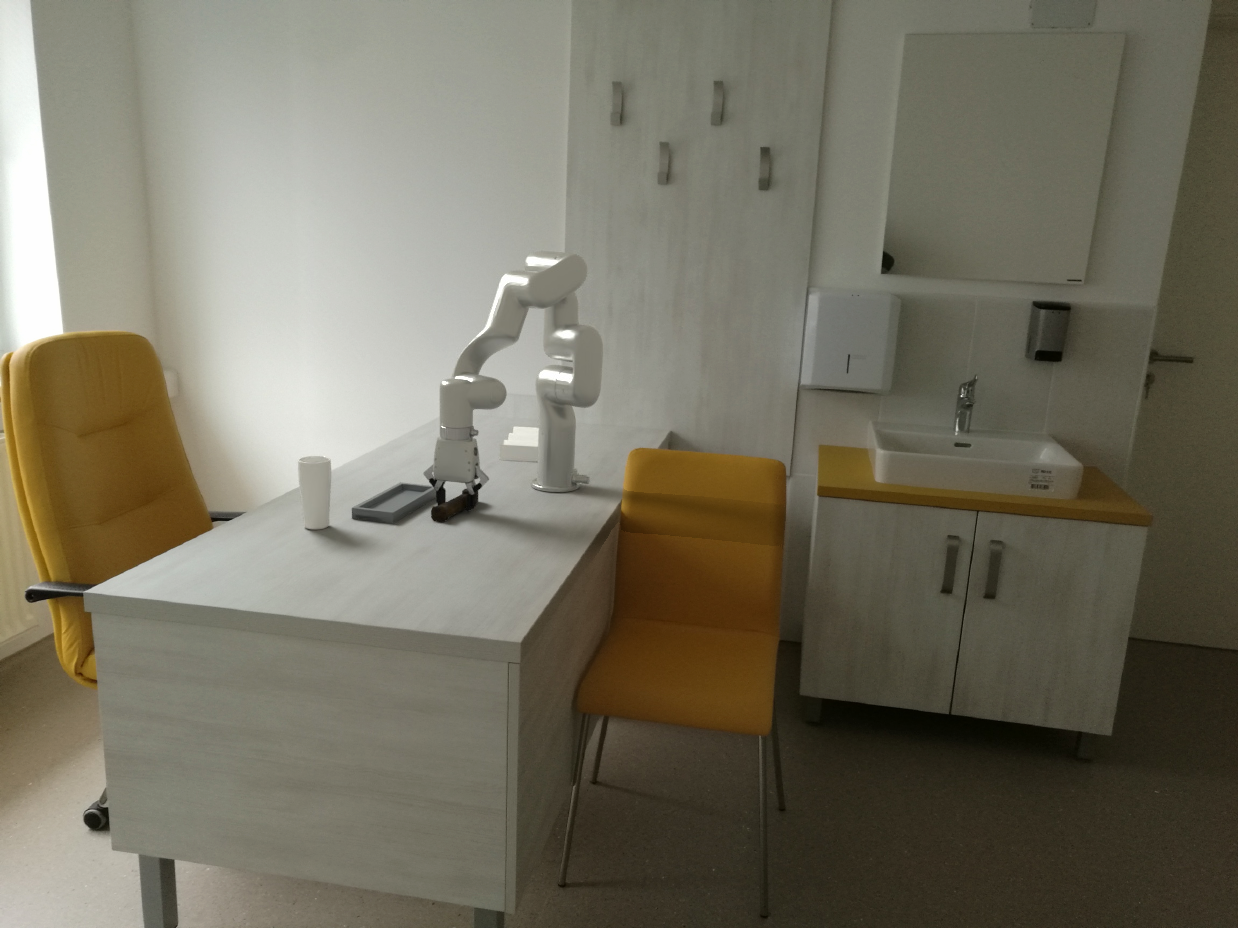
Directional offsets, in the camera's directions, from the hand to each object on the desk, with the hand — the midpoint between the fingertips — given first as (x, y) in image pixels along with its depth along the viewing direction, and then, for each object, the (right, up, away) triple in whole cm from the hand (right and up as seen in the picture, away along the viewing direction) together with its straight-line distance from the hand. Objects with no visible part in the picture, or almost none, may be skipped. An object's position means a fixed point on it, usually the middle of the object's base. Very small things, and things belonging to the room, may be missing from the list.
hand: (456, 507), depth 218 cm
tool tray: (-14, 0, +1) cm, 14 cm away
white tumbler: (-27, -4, -16) cm, 32 cm away
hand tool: (0, -1, 0) cm, 1 cm away
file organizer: (+11, +14, +68) cm, 71 cm away
